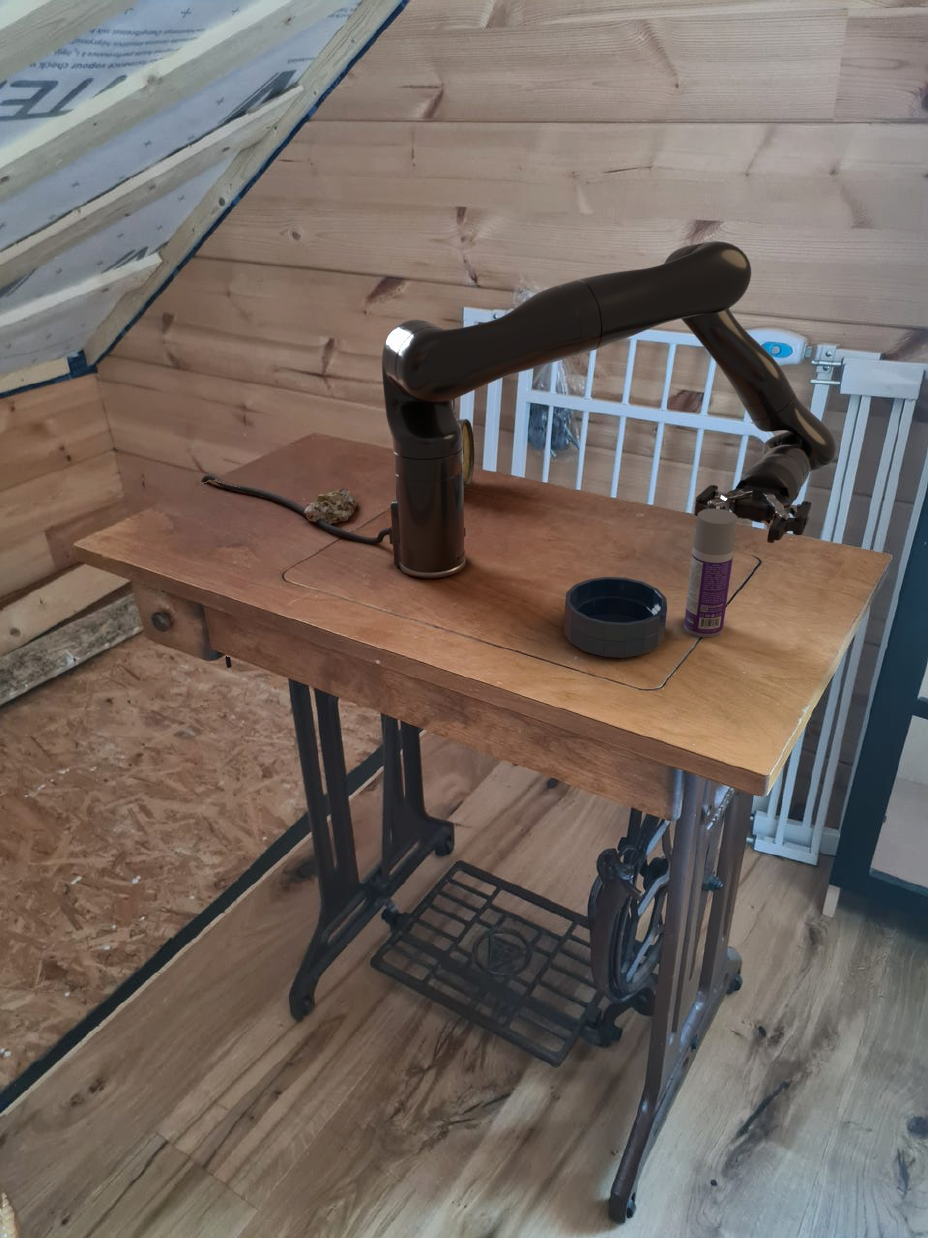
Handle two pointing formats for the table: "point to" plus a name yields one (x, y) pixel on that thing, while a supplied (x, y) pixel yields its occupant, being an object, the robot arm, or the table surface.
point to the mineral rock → (331, 507)
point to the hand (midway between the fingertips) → (737, 529)
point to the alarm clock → (467, 449)
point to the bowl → (615, 617)
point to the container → (710, 572)
